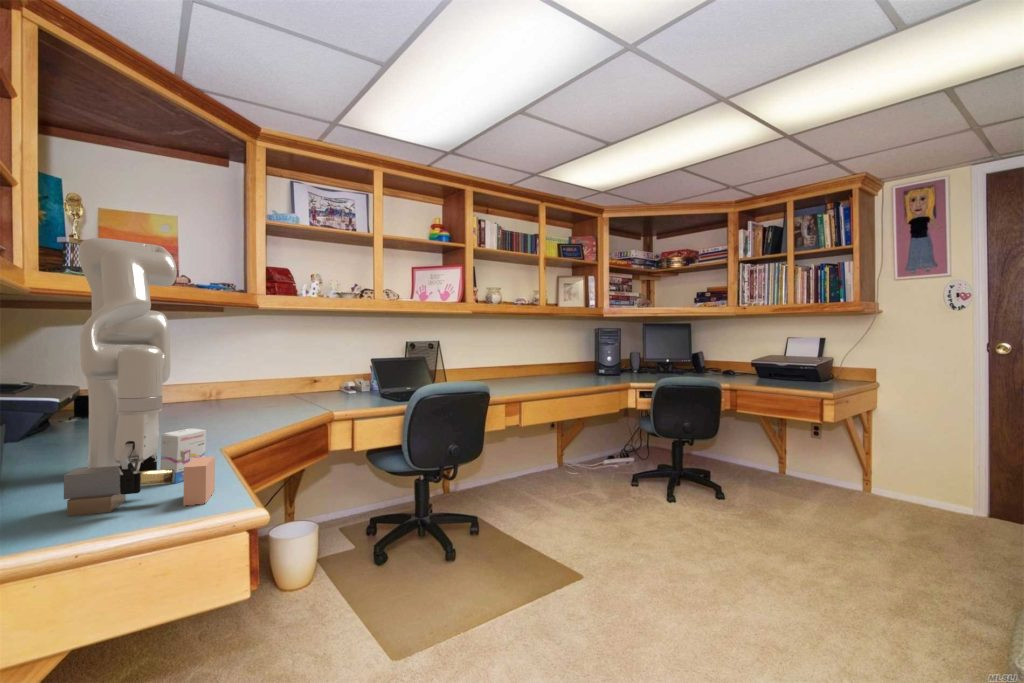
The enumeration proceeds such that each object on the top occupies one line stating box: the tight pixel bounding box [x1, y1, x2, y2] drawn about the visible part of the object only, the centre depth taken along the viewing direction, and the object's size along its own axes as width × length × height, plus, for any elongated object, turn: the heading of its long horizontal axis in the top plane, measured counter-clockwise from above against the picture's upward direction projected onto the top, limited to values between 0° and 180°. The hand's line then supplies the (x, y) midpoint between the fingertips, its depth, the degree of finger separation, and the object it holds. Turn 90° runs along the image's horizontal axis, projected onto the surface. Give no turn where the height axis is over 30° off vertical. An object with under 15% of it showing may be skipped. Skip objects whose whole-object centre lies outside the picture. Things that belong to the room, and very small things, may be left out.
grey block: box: [63, 466, 127, 517], centre depth 96 cm, size 9×7×8 cm
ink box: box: [159, 427, 207, 484], centre depth 117 cm, size 9×5×12 cm, turn 168°
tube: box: [138, 469, 175, 487], centre depth 98 cm, size 16×3×3 cm, turn 111°
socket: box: [183, 456, 216, 507], centre depth 103 cm, size 4×8×8 cm, turn 21°
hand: (139, 486), depth 99 cm, fingers open, 8 cm apart
